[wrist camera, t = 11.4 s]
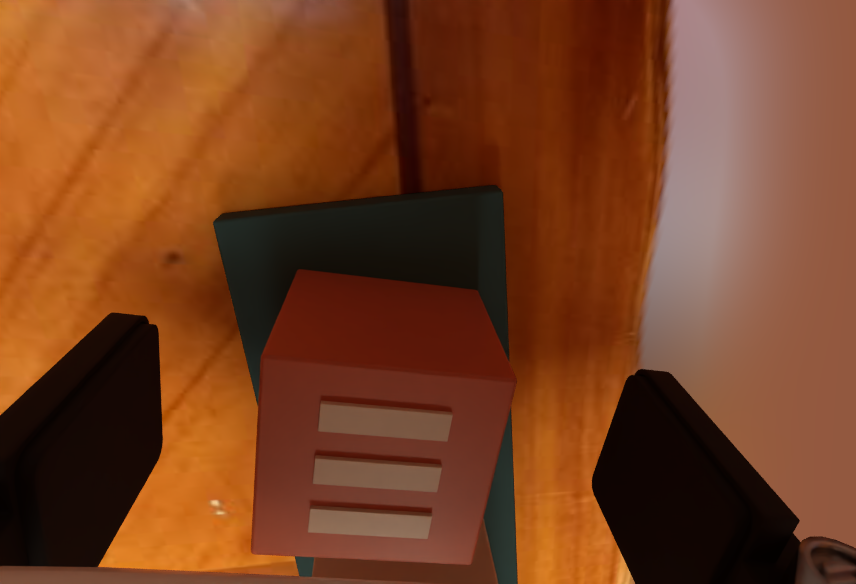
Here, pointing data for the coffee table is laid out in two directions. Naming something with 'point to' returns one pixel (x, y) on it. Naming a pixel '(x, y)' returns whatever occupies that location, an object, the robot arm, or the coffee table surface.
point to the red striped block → (378, 421)
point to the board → (386, 259)
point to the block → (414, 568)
